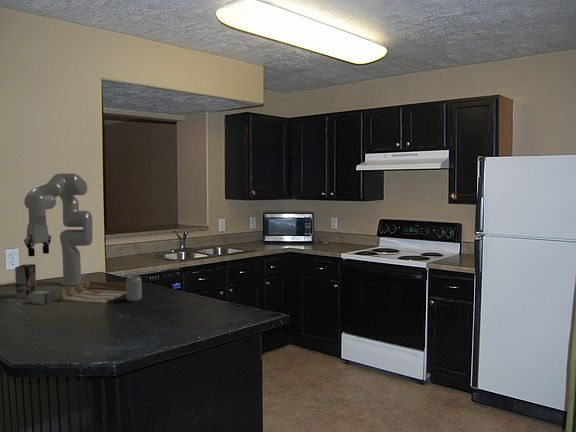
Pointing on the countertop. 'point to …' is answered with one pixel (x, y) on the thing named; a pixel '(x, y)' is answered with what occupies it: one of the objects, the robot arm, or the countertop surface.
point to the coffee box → (25, 280)
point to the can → (133, 288)
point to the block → (42, 297)
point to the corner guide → (93, 292)
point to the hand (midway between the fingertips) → (38, 254)
